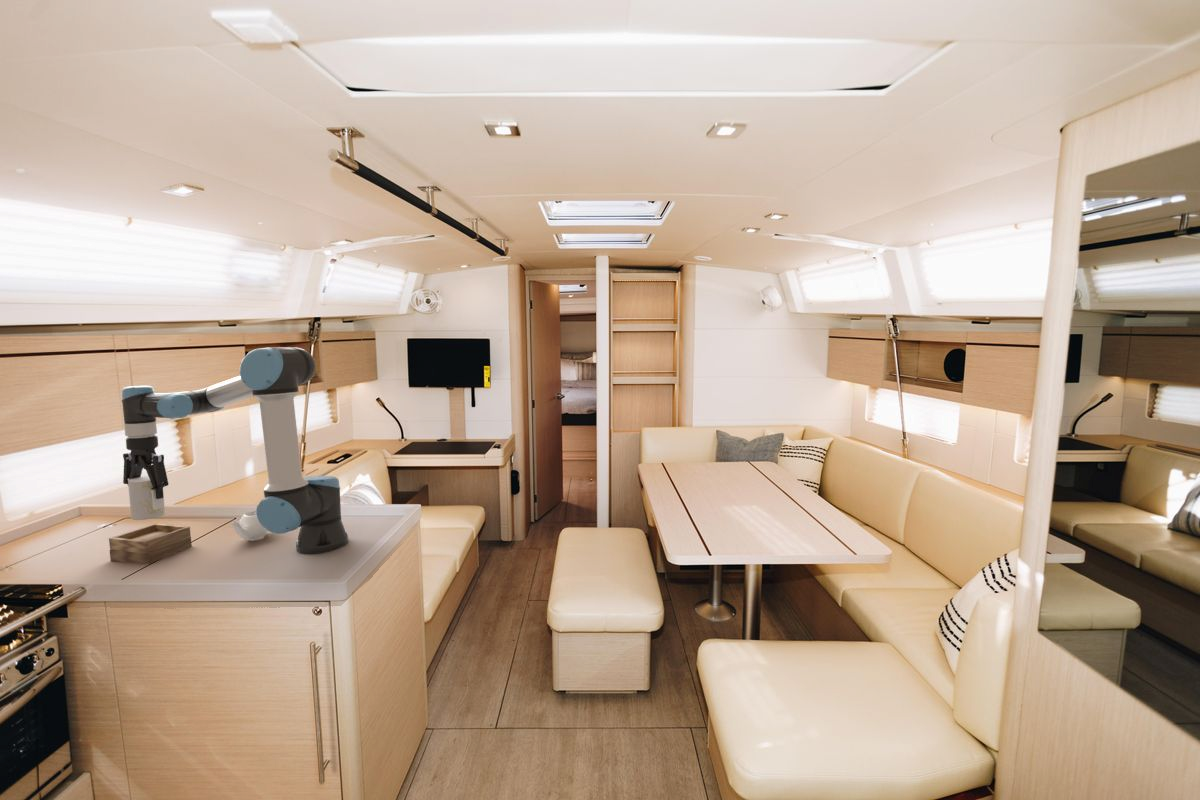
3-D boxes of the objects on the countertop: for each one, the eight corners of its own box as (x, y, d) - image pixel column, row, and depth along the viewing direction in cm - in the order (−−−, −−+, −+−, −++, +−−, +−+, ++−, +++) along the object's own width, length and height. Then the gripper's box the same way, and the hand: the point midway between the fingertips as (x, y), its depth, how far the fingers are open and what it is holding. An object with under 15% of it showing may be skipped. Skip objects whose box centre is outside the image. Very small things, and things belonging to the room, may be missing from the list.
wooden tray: (190, 537, 175) (189, 526, 174) (145, 553, 161) (144, 542, 161) (156, 533, 178) (155, 523, 177) (109, 549, 164) (108, 538, 164)
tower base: (191, 546, 176) (190, 536, 175) (149, 564, 162) (148, 552, 162) (155, 544, 178) (154, 534, 177) (110, 561, 164) (109, 550, 164)
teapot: (288, 529, 192) (286, 504, 191) (249, 551, 172) (247, 523, 171) (262, 529, 192) (260, 503, 191) (220, 550, 172) (218, 522, 171)
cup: (145, 521, 164) (142, 482, 162) (124, 519, 165) (120, 481, 164) (171, 512, 172) (168, 476, 170) (151, 511, 173) (148, 474, 172)
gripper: (179, 435, 167) (185, 506, 169) (130, 432, 172) (136, 501, 175) (154, 439, 160) (160, 514, 162) (103, 436, 165) (109, 508, 167)
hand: (147, 507), depth 168 cm, fingers closed on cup, 8 cm apart
